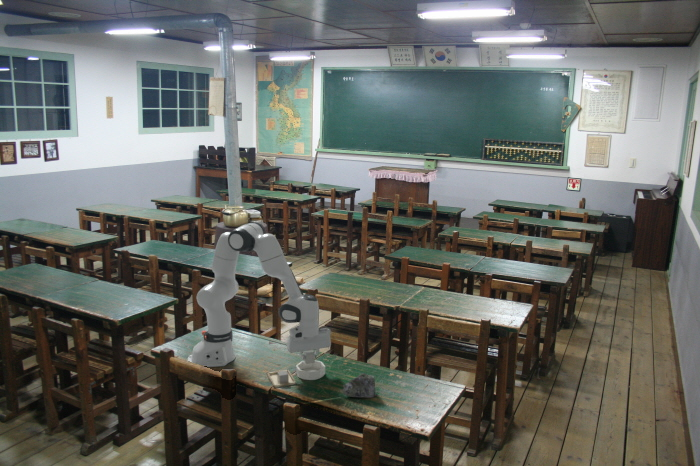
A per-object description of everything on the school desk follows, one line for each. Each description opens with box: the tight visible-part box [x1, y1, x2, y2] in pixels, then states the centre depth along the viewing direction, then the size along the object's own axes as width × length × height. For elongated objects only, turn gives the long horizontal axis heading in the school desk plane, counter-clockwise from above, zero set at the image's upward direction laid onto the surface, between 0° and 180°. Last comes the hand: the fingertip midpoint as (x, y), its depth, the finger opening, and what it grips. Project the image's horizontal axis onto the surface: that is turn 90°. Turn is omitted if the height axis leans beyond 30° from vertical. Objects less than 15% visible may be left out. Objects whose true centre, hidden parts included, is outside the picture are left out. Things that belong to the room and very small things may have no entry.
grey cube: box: [303, 350, 316, 364], centre depth 252 cm, size 4×4×4 cm
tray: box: [266, 369, 297, 388], centre depth 245 cm, size 10×13×2 cm
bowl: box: [295, 359, 326, 381], centre depth 251 cm, size 12×12×4 cm
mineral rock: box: [341, 373, 376, 398], centre depth 233 cm, size 13×11×10 cm
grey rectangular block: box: [277, 370, 289, 384], centre depth 242 cm, size 4×4×4 cm
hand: (309, 358), depth 252 cm, fingers closed on grey cube, 4 cm apart
